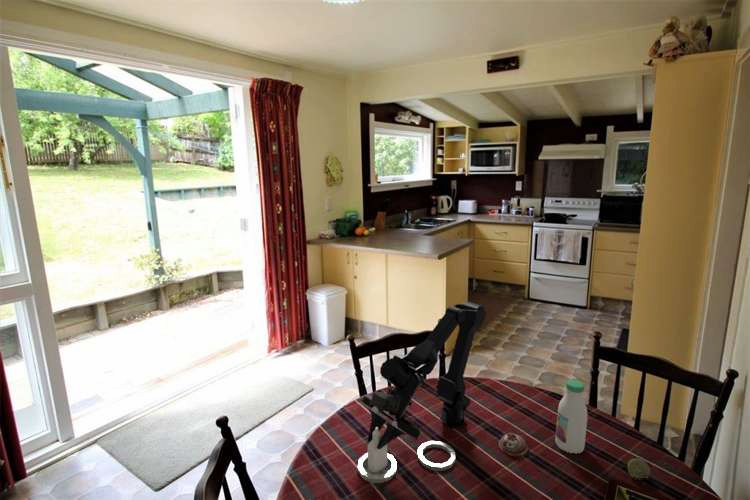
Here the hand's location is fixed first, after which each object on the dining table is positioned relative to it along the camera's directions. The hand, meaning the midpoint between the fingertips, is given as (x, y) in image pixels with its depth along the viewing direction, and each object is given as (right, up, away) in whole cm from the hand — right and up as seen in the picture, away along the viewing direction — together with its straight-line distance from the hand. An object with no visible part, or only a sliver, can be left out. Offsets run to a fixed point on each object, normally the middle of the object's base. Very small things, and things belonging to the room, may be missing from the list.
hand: (373, 444), depth 107 cm
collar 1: (+1, -8, +2) cm, 8 cm away
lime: (+69, -8, -2) cm, 70 cm away
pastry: (+41, -6, +10) cm, 42 cm away
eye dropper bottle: (+1, -7, +2) cm, 8 cm away
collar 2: (+18, -7, +6) cm, 20 cm away
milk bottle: (+57, -5, +10) cm, 59 cm away
